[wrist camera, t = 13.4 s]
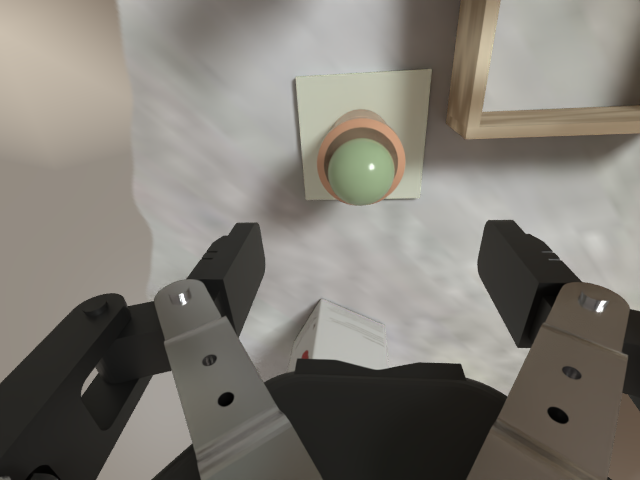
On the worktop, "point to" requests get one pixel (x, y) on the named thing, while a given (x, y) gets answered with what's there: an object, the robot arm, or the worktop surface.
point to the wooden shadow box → (474, 124)
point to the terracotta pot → (361, 159)
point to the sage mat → (370, 94)
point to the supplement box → (341, 338)
